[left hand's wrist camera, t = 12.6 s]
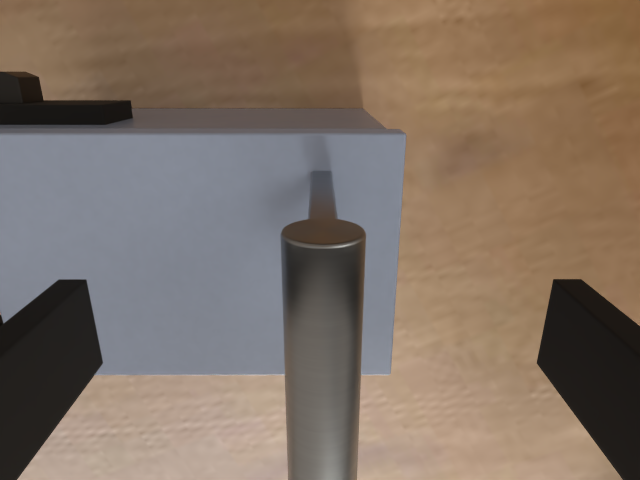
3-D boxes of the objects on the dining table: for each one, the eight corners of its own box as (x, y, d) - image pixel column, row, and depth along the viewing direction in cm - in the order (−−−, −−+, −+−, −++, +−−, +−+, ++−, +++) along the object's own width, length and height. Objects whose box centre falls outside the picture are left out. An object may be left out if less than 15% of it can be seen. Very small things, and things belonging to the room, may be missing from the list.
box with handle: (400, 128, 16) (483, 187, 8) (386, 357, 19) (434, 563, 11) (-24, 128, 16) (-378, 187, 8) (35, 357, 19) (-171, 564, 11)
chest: (363, 108, 25) (387, 128, 16) (358, 267, 28) (375, 357, 19) (98, 108, 25) (-23, 128, 16) (124, 267, 28) (35, 357, 19)
